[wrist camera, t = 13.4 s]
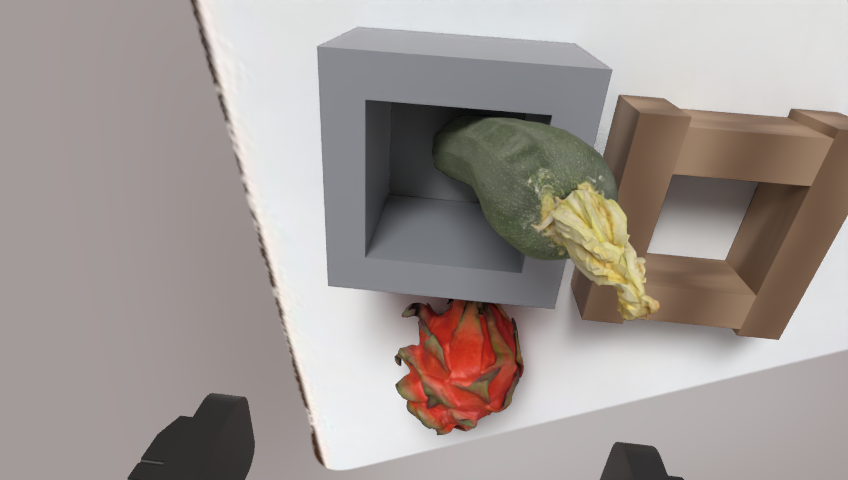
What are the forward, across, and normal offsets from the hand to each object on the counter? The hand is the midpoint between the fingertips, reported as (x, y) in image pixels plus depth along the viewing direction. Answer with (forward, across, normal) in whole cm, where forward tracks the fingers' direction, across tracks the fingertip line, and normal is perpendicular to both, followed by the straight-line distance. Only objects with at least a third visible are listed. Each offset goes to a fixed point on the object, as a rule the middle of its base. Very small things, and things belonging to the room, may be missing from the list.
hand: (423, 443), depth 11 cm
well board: (+22, -15, +3) cm, 26 cm away
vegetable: (+22, 0, 0) cm, 22 cm away
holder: (+22, 0, 0) cm, 22 cm away
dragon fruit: (+22, -2, +14) cm, 26 cm away
